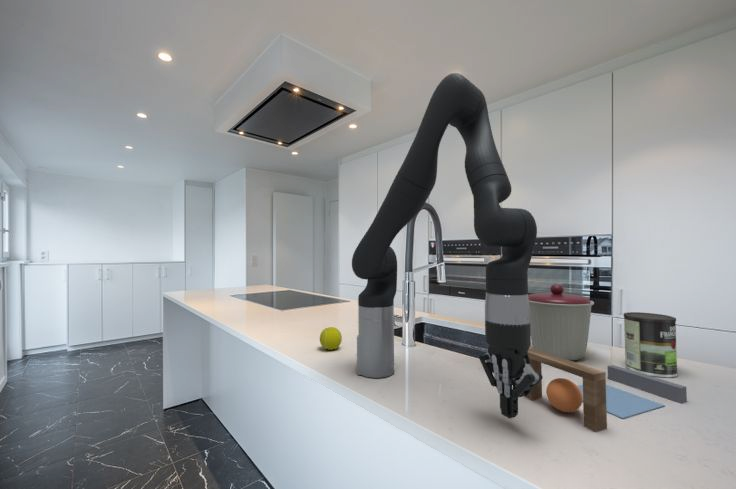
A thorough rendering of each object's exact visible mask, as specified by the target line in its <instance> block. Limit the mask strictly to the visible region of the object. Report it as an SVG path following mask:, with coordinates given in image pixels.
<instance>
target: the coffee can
mask: <svg viewBox="0 0 736 489" xmlns="http://www.w3.org/2000/svg"><path fill="white" fill-rule="evenodd" d="M623 322H624V323H623V324H624V347H625V348H624V349H625V350H624V354H625V365H624V366H625V369H628V370H632V371H635V372H638V373H642V374H645V375H648V376H652V377H655V378H665V379H667V378H669V379H670V378H671V379H673V378H676V377H678V363H677V362H678V360H677V359H678V357H677V356H678V355H677V353H678V352H677V325H676V322H677V318H676V317H674V316H671V315H666V314H660V313H659V314H658V313H650V312H641V311H640V312H637V311H635V312H633V311H632V312H630V311H629V312H624V313H623Z"/></svg>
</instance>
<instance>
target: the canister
mask: <svg viewBox="0 0 736 489" xmlns="http://www.w3.org/2000/svg"><path fill="white" fill-rule="evenodd" d="M549 291H550V292H536V293H531V294H528V298H529V304H530V330H531V344H532V347H533V348H532V349H535V350H538V351H541V352H545V353H548V354H551V355H554V356H557V357H560V358H563V359H566V360H569V361H573V362H575V361H579V360H581V359H583V358H584V356H586V354H587V350H588V349H587V348H588V340H589V335H590V334H589V332H590V323H591V314H592V313H591V312H592V306H594V305H595V302H594V301H593V300H590V298H588V297H586V296H583V295H580V294H572V293H564V291H565V288H564V286H563V285H561V284H558V283H557V284H552V285H551V286H550V287H549Z"/></svg>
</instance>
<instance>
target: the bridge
mask: <svg viewBox="0 0 736 489" xmlns="http://www.w3.org/2000/svg"><path fill="white" fill-rule="evenodd" d="M528 356H529V358H530V366H531V367H532V369H533V370H534V371H535V373H537V372H540V373H541V374H542V372H543V371H542V364H544V365H547V366H549V367H552V368H554V369H557V370H559V371H560V370H561V371H563V372H566V373H569V374H572V375H574V376H577V377H580V378H582V385H583V402H582V408H583V411H582V412H583V427H584V428H586V429H589V430H590V431H592V432H594V433H598V432H600V431H604V430H607V429H608V415H607V414H608V413H607V408H606V385H607V383H606V382H607V380H606V379H607V378H606V377H607V375H606V374H607V373H606V371H603V370H600V369H597V368H594V367H591V366H589V365H585V364H582V363H578V362H576V361H569V360H566V359H563V358H560V357H557V356H554V355H551V354H548V353H545V352H541V351H538V350H535V349H534V348H529V349H528ZM542 375H543V374H542ZM542 382H543V379H542V380H541V381H540V382H539V383H538V384H537V386H536V387H535V388H534V389H533V390H532V391H531V392H530V393H529V394H528V396H524V397H523V398H526V399H528V400H530V401H534V400H539V399H542V398H543V383H542Z"/></svg>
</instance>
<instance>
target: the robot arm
mask: <svg viewBox="0 0 736 489" xmlns="http://www.w3.org/2000/svg"><path fill="white" fill-rule="evenodd" d="M449 125H450V126H451V127H453V128H455V129H456V130H457V131H458V133H459V134H460V136H461V138H462V140H463V142H464V145H465V157H464V158H465V159H464V172H465V175H466V178H467V182H468V185H469V187H470V191H471V194H472V196H473V197H472V198H473V228H474V233H475V236H476V238H478V240H479V241H480V243H482V244H483V245H485V246H487V247H490V248H492V247H494V248H498V247H501V248H502V247H504V248H503V250H502V254H501V256H500V258H498V259H494V260H492V261H490V262H488V263H487V264H486V266H485V300H484V330H485V331H484V333H485V334H484V339H485V343H486V344H487V345H488V347H487V351H486V353H484V354H480V355H478V358H479V361H480V364H481V367H482V368H483V370H484V372H485V374H486V376H487V379H488V381H489V384H490V386H492V387H495V388H496V390H497V393H498V394H499V409H500V414H501V415H503V417H505V418H507V419H510V420H511V419H514V418H516V417H517V416H518V414H519V398H525V397H524V396H528V394H529V393H530V392H531V391H532V390H533V389H534V388H535V387H536V386H537V384H538V383H539V382H540V381H541V380H542V381H543V379H544V378H543V377H544V376H543V374H541V373H540V372H537V373H535V371H534V370H533V369H532V367H531V366H530V358H529V356H528V350H529V349H530V347H531V344H532V340H531V330H530V304H529V298H528V295H529V281H528V280H529V279H528V278H529V275H528V274H529V273H528V272H529V267H530V264H531V260H532V256H533V253H534V249H535V245H536V242H537V234H538V225H537V221H536V220H535V217H534V216H533V215H532V213H531V212H530V211H529V210H527V209H523V208H519V207H518V208H514V207H513V208H512V207H501V203H503V202H504V201H507V199H508V198H509V197H510V196H511V195H512V185H511V181H510V179H509V176H508V174H507V171H506V168H505V166H504V164H503V161H502V159H501V157H500V154H499V151H498V148H497V146H496V143H495V139H494V136H493V132H492V130H493V129H492V127H491V122H490V117H489V110H488V104H487V101H486V97H485V95H484V93H483V91H482V90H481V89H480V88H478V87H477V86H476V85H475V84H474V83H473V82H471V81H470V80H469V79H468V78H466V77H465V75H463V74H461V73H459V72H452V73H449V74H447V75H446V76H445V77H444V78H443V79H441V81H440V82H439V83H438V85H437V86H436V88H435V90H434V91H433V93H432V95H431V97H430V100H429V102H428V104H427V106H426V109H425V112H424V115H423V117H422V119H421V122H420V125H419V126H418V129H417V133H416V135H415V136H414V139H413V142H412V143H411V145H410V148H409V150H408V152H407V154H406V155H405V158H404V160H403V162H402V165H401V166H400V167H399V170H398V172H397V173H396V175H395V177H394V179H393V181H392V183H391V185H390V187H389V189H388V192H387V194H386V196H385V198H384V200H383V201H382V204H381V206H380V208H379V209H378V211H377V213H376V215H375V216H374V219H373V221H372V223H371V224H370V226H369V227H368V229H367V231H366V232H365V234H364V235H363V237H362V238H361V239H360V240H359V243H358V244H357V245H356V248H355V250H354V252H353V254H352V258H351V268H352V271H353V274H354V275H355V277H357V278H359V279H362V280H367V282H366V286H365V288H364V289H363V290H362V291H361V292H360V293H359V294H358V298H357V299H358V300H357V302H358V303H357V306H358V310H357V311H358V316H357V317H358V318H357V320H358V321H357V322H358V335H356V336H357V337H356V375H358V376H363V377H367V378H373V379H378V378H380V379H383V378H387V377H390V376H392V375H393V374H394V373H395V322H394V321H395V320H394V319H395V315H394V314H395V310H394V308H395V307H394V300H395V296H396V295H397V287H398V286H397V284H398V259H397V255H396V252H395V250H394V249H393V248H392V247H391V244H392V243H393V241H394V240H395V238H396V237H397V235H398V234H399V233H400V231H401V230H402V229H403V228H404V227H406V226H407V225H408V224H409V223H410V222H412V220H413V219H414V218H415V217H416V216H417V215H418V214H419V212H421V210H422V208H423V207H424V205H425V204H426V202H427V200H428V199H429V197H430V195H431V192H432V191H433V189H434V187H435V185H436V182H437V174H438V160H439V158H438V157H439V148H440V144H441V142H442V139H443V137H444V135H445V132H446V130H447V128H448V126H449Z"/></svg>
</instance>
